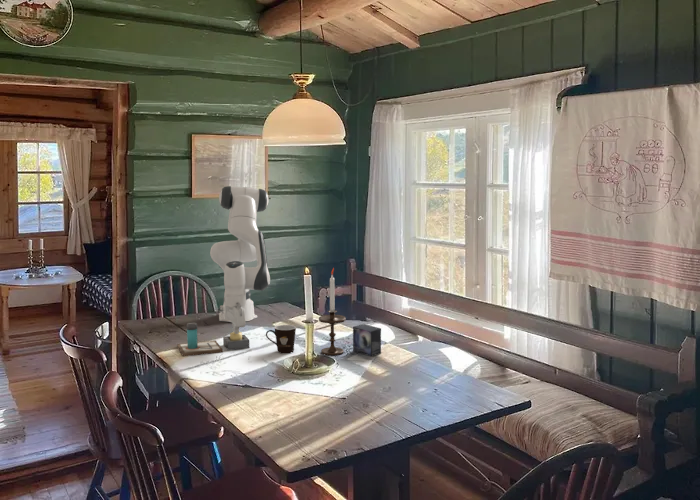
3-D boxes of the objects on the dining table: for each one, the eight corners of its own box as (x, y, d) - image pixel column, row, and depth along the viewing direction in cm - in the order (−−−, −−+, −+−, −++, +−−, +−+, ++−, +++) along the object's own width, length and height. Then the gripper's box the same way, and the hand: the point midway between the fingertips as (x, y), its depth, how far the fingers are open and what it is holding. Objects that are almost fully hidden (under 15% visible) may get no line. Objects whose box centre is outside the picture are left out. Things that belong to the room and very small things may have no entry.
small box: (351, 351, 275) (351, 326, 274) (363, 348, 280) (363, 323, 279) (370, 356, 268) (370, 330, 267) (381, 353, 272) (381, 328, 271)
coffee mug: (300, 350, 277) (300, 326, 275) (288, 355, 269) (287, 331, 268) (277, 346, 283) (277, 323, 281) (264, 351, 275) (264, 327, 274)
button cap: (229, 341, 284) (228, 332, 283) (240, 340, 286) (240, 331, 285) (231, 344, 279) (231, 335, 279) (243, 343, 281) (243, 334, 281)
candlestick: (351, 352, 274) (351, 267, 270) (332, 357, 266) (332, 270, 262) (331, 347, 281) (331, 264, 277) (313, 352, 273) (312, 267, 269)
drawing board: (177, 346, 282) (177, 343, 282) (215, 343, 288) (215, 339, 288) (182, 356, 268) (182, 353, 268) (222, 352, 274) (222, 348, 274)
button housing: (223, 344, 285) (223, 336, 285) (244, 342, 289) (244, 334, 288) (227, 350, 277) (227, 341, 277) (249, 347, 280) (249, 339, 280)
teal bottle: (186, 346, 277) (185, 323, 276) (196, 345, 279) (196, 322, 277) (188, 349, 273) (187, 325, 272) (198, 348, 275) (198, 324, 273)
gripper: (248, 304, 272) (249, 338, 274) (237, 295, 291) (238, 327, 293) (233, 306, 270) (234, 339, 271) (222, 296, 288) (223, 328, 290)
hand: (236, 333), depth 282 cm, fingers closed, pressing on button cap
